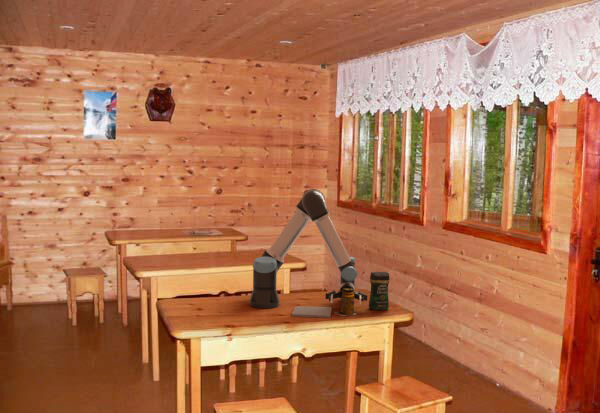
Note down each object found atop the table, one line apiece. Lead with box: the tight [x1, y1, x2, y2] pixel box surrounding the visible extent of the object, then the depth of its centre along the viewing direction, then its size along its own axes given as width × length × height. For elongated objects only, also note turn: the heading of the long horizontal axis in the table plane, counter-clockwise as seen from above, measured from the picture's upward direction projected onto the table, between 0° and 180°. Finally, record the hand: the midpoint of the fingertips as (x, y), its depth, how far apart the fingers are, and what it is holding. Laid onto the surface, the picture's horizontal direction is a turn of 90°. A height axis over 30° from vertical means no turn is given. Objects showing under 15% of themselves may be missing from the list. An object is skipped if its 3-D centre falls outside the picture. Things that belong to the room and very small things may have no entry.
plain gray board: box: [291, 305, 333, 319], centre depth 312 cm, size 18×16×1 cm
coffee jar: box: [368, 271, 391, 311], centre depth 321 cm, size 10×8×19 cm
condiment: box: [334, 288, 357, 317], centre depth 311 cm, size 7×8×12 cm
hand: (345, 300), depth 307 cm, fingers open, 13 cm apart
